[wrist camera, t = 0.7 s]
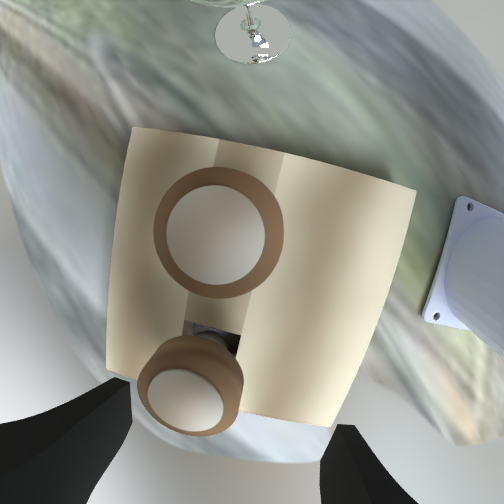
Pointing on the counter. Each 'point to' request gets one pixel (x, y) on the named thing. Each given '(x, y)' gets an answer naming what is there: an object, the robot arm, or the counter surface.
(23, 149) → the counter surface
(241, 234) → the knob
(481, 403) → the counter surface
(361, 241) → the knob panel
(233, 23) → the wineglass
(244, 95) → the counter surface
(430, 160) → the counter surface
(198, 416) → the knob
